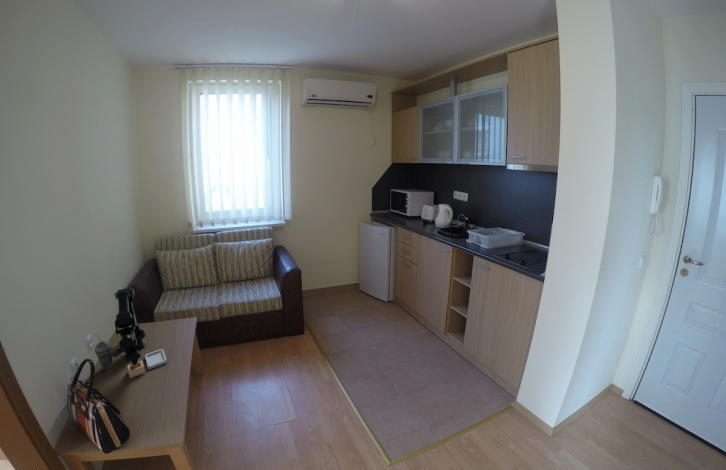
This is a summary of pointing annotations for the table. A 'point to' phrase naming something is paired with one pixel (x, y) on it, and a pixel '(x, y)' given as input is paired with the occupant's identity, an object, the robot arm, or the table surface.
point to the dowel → (134, 365)
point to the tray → (155, 359)
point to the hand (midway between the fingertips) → (134, 363)
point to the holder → (136, 369)
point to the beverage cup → (104, 354)
